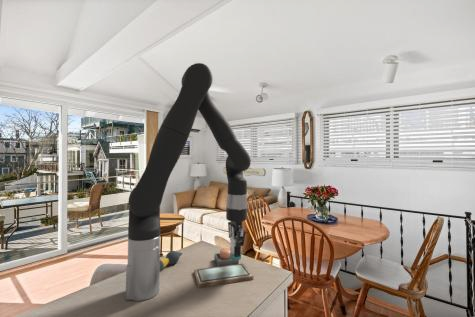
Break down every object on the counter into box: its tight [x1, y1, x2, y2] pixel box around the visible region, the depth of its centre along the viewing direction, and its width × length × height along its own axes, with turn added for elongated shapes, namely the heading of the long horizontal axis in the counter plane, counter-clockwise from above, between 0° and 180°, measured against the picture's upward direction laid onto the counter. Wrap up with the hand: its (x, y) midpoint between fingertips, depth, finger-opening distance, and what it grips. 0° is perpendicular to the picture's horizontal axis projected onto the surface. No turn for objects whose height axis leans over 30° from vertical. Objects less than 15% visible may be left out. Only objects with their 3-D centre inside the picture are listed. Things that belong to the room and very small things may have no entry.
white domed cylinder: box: [229, 236, 242, 261], centre depth 84 cm, size 4×4×8 cm
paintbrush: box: [160, 250, 184, 272], centre depth 88 cm, size 20×5×5 cm, turn 155°
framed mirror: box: [193, 263, 255, 289], centre depth 83 cm, size 19×11×1 cm, turn 108°
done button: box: [219, 248, 230, 260], centre depth 94 cm, size 5×5×3 cm
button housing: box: [213, 252, 240, 267], centre depth 94 cm, size 8×8×2 cm
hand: (235, 253), depth 84 cm, fingers closed on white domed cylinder, 4 cm apart
